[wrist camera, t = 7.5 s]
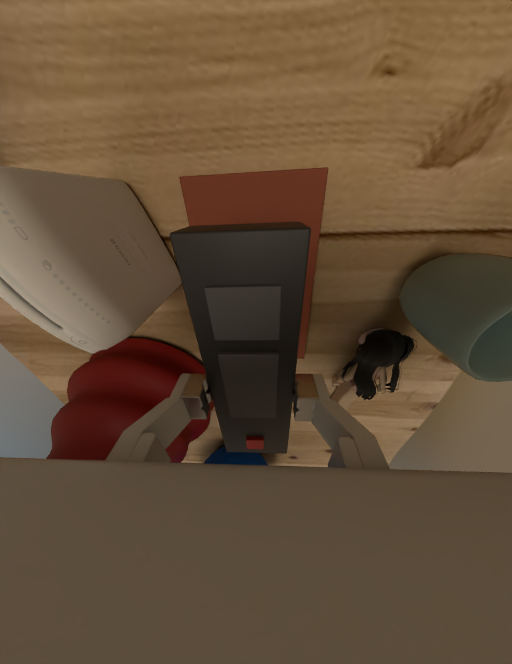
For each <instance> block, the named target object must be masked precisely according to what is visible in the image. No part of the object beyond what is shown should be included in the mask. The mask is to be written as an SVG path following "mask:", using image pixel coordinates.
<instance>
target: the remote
mask: <svg viewBox="0 0 512 664" xmlns="http://www.w3.org/2000/svg"><path fill="white" fill-rule="evenodd" d="M310 236H311V228H310V227H308V226H306V225H305V224H303V223H301V222H275V223H251V224H226V225H201V226H190V227H186V228H183V229H180V230H177V231H174V232H171V233H170V239H171V243H172V246H173V250H174V254H175V258H176V262H177V265H178V269H179V273H180V277H181V281H182V284H183V288H184V292H185V296H186V300H187V303H188V307H189V311H190V315H191V319H192V322H193V326H194V330H195V334H196V338H197V341H198V345H199V349H200V353H201V357H202V360H203V364H204V368H205V372H206V376H207V378H208V382H209V387H210V390H211V393H212V397H213V402H214V406H215V410H216V414H217V417H218V421H219V425H220V429H221V433H222V437H223V440H224V444H225V448H226V452H250V453H287V446H288V437H289V428H290V419H291V410H292V392H293V390H294V387H293V383H294V377H295V373H296V364H297V355H298V346H299V337H300V327H301V318H302V309H303V300H304V291H305V282H306V273H307V264H308V254H309V245H310Z"/></svg>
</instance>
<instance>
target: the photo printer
mask: <svg viewBox="0 0 512 664" xmlns="http://www.w3.org/2000/svg"><path fill="white" fill-rule="evenodd" d="M181 283H182V281H181V277H180V273H179V271H178V269H177V267H176V265H175V263H174V261H173V259H172V257H171V256H170V254H169V252H168V250H167V248H166V247H165V245H164V243H163V241H162V240H161V238H160V236H159V235H158V233H157V231H156V229H155V228H154V226H153V224H152V223H151V221H150V219H149V218H148V216H147V214H146V213H145V211H144V209H143V208H142V206H141V204H140V203H139V201H138V200H137V198H136V197H135V195H134V194H133V192H132V191H131V189H130V188H129V187H128V186H127V185H126V183H124V182H123V181H119V180H112V179H105V178H97V177H89V176H81V175H73V174H64V173H56V172H48V171H40V170H32V169H22V168H14V167H6V166H0V297H1V298H2V299H3V300H5V301H6V302H7V303H8V304H9V305H11V306H12V307H13V308H14V309H16V310H17V311H18V312H20V313H21V314H22V315H24V316H25V317H26V318H28V319H29V320H31V321H32V322H33V323H35V324H36V325H38V326H40V327H41V328H43V329H44V330H46V331H47V332H49V333H51V334H52V335H54V336H56V337H57V338H59V339H61V340H63V341H65V342H67V343H69V344H71V345H73V346H75V347H77V348H80V349H82V350H84V351H87V352H89V353H92V354H94V353H96V352H98V351H100V350H106V349H108V348H110V347H112V346H114V345H116V344H117V343H119V342H121V341H123V340H125V339H126V338H128V337H129V336H130V335H131V334H132V333H133V332H134V331H135V330H136V329H138V328H139V327H140V325H141V324H142V323H143V322H144V321H146V319H147V318H148V317H149V316H150V315H151V314H152V313H153V312H154V311H155V310H156V309H157V308H158V307H159V306H160V305H161V304H162V303H163V302H164V301H165V300H166V299H167V298H168V297H169V296H170V295H171V294H172V293H173V292H174V291H175V290H176V289H177V288H178V287H179V286H180V285H181Z"/></svg>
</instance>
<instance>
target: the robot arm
mask: <svg viewBox="0 0 512 664" xmlns="http://www.w3.org/2000/svg"><path fill="white" fill-rule="evenodd" d="M293 387H294V390H293V392H292V402H293V403H294V407H293V410H294V417H295V421H311V422H312V424H313V425H314V426H315V428H316V429H317V430H318V432H319V433H320V434H321V435H322V437H323V438H324V439H325V441H326V442H327V443H328V445H329V446H330V447H331V449H332V450H333V453H332V455H331V458H330V460H329V463H328V467H301V466H268V465H235V464H203V463H170V462H171V459H170V457H169V455H168V454H167V452H166V451H165V449H166V448H167V447H168V446H169V445H170V444H171V443H172V441H173V440H174V439H175V438H176V437H177V436H178V435H179V434H180V432H181V431H182V430H183V429H184V428H185V427H186V426H187V425H188V423H189V422H190V421H191V419H207V417H208V413H209V409H210V406H209V403H210V402H211V401H212V398H213V397H212V393H211V390H210V387H209V382H208V378H207V376H206V374H196V373H183V374H181V375H180V377H179V379H178V381H177V383H176V385H175V387H174V389H173V391H172V393H171V395H170V397H169V398H166V399H164V400H163V401H162V402H161V403H159V404H158V405H157V406H155V407H154V408H153V409H152V410H150V411H149V412H148V413H146V414H145V415H144V416H142V417H141V418H140V419H139V420H137V421H136V422H135V423H133V424H132V425H131V426H130V427H128V428H127V429H126V430H124V431H123V433H122V434H121V436H120V438H119V439H118V441H117V442H116V444H115V446H114V447H113V449H112V450H111V452H110V454H109V455H108V457H107V458H106V460H105V461H102V460H69V459H36V458H34V459H33V458H2V457H0V664H512V473H498V472H465V471H464V472H463V471H433V470H396V469H390V468H389V466H388V464H387V462H386V459H385V457H384V455H383V453H382V451H381V449H380V446H379V444H378V442H377V440H376V438H375V436H374V435H373V434H371V433H370V432H369V431H368V430H367V429H366V428H365V427H364V426H363V425H361V424H360V423H359V422H358V421H357V420H356V419H355V418H354V417H352V416H351V415H350V414H349V413H348V412H347V411H346V410H345V409H344V408H342V407H341V406H340V405H339V404H338V403H337V402H336V401H335V400H333V399H330V396H329V393H328V390H327V387H326V384H325V381H324V378H323V375H322V374H295V377H294V383H293Z"/></svg>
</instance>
